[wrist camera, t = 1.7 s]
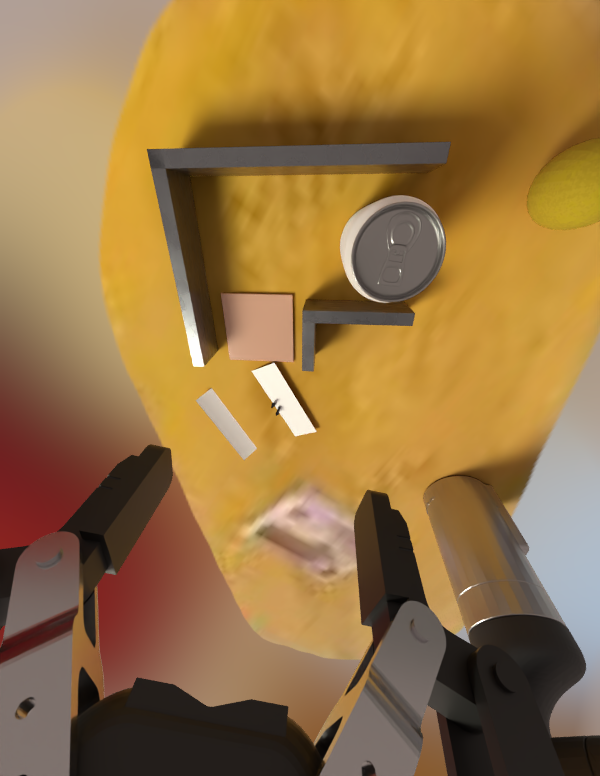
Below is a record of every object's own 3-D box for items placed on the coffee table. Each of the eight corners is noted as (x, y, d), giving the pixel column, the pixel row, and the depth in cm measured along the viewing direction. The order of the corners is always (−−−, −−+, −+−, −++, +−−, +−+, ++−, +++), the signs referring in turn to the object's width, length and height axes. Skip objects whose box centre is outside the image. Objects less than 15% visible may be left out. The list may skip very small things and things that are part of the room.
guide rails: (431, 154, 24) (450, 141, 20) (393, 357, 33) (402, 375, 29) (174, 160, 26) (146, 149, 22) (208, 350, 35) (193, 365, 31)
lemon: (583, 136, 22) (694, 98, 15) (580, 212, 25) (676, 207, 18) (505, 172, 24) (575, 152, 17) (509, 240, 26) (572, 246, 19)
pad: (292, 294, 31) (292, 295, 30) (293, 360, 35) (293, 362, 34) (221, 293, 31) (220, 293, 31) (230, 358, 35) (229, 359, 35)
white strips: (316, 425, 40) (316, 433, 39) (246, 451, 44) (244, 460, 42) (275, 356, 36) (272, 362, 34) (200, 392, 39) (194, 399, 37)
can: (416, 209, 26) (473, 200, 15) (395, 282, 29) (430, 315, 19) (347, 199, 26) (356, 184, 16) (334, 273, 29) (335, 301, 19)
